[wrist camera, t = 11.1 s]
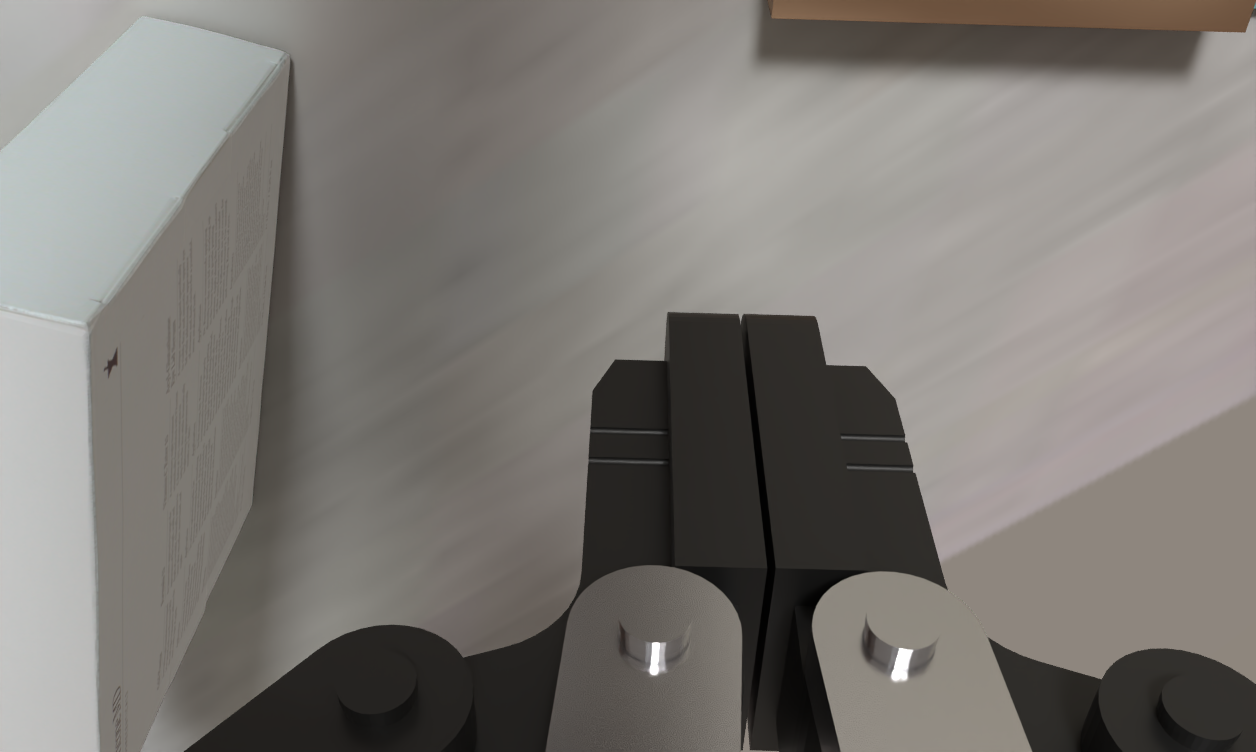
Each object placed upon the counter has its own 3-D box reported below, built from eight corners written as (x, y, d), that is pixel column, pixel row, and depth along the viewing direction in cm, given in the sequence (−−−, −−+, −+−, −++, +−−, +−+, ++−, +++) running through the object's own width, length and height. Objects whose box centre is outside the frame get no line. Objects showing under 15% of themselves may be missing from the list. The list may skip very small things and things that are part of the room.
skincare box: (121, 4, 38) (-149, 268, 25) (294, 46, 38) (119, 324, 26) (122, 483, 50) (-59, 824, 37) (253, 507, 51) (120, 850, 38)
